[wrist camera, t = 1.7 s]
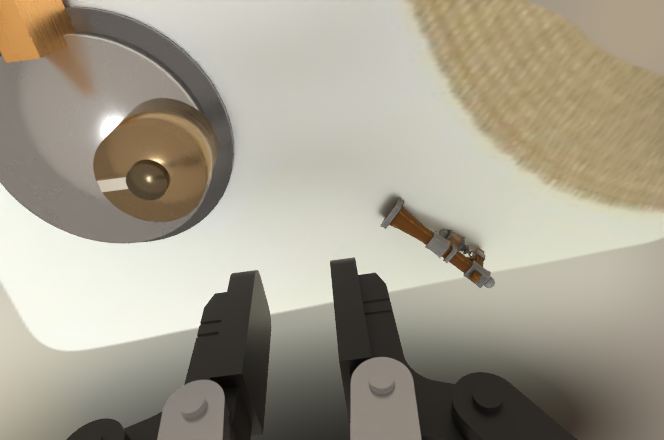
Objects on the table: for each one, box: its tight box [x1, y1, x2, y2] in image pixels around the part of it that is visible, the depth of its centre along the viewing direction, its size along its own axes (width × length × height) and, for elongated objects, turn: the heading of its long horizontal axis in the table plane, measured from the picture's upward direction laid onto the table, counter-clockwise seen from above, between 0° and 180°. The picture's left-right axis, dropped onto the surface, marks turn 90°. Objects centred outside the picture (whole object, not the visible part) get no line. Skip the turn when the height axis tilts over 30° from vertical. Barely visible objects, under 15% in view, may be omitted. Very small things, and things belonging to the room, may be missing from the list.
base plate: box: [0, 7, 234, 242], centre depth 25 cm, size 14×14×1 cm
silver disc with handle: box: [0, 0, 214, 243], centre depth 22 cm, size 16×12×4 cm
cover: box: [93, 98, 218, 222], centre depth 22 cm, size 5×5×5 cm
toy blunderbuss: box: [381, 198, 495, 288], centre depth 29 cm, size 2×8×4 cm, turn 60°
